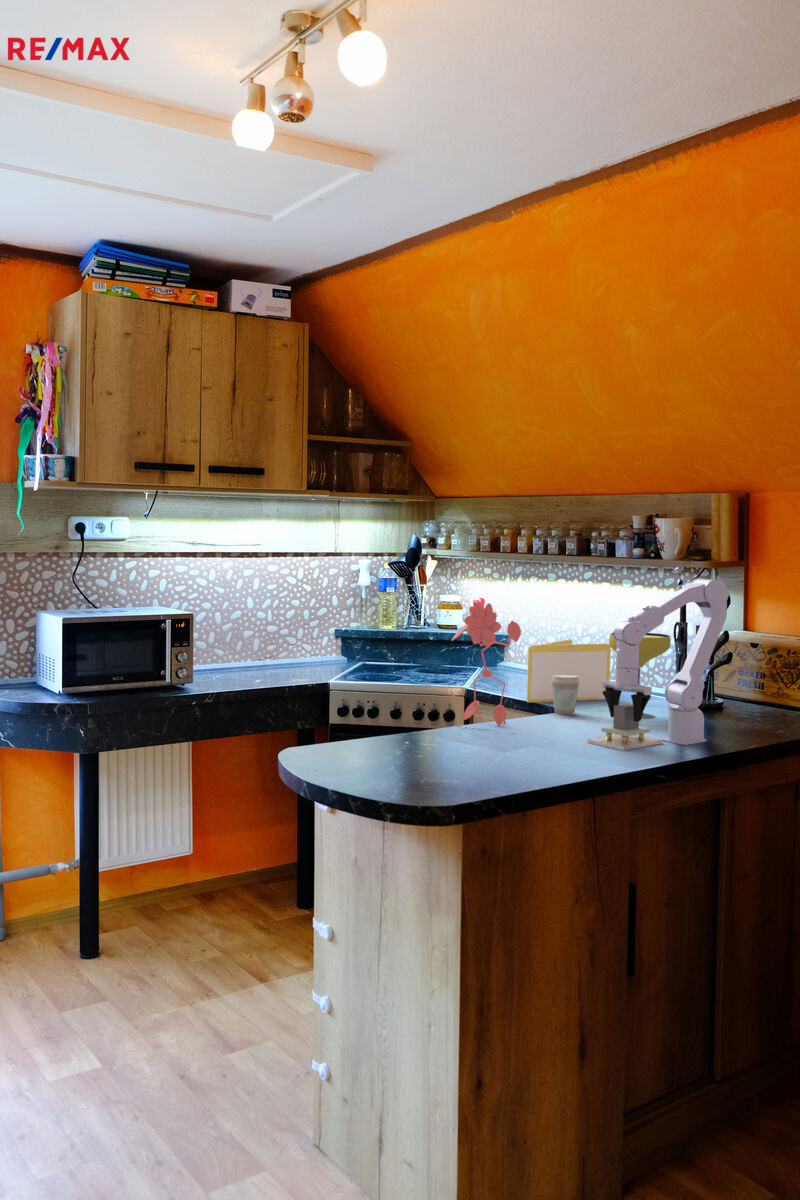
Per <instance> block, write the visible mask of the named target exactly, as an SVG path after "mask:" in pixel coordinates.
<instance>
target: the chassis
mask: <svg viewBox="0 0 800 1200" xmlns="http://www.w3.org/2000/svg"><path fill="white" fill-rule="evenodd" d="M605 733H606V735H605V736H604V735H603V736H599V737H592V738H587V739H586V740H587V741H586V743H587V744H592V745H597V746H600V747H604V748H610V749H615V750H617V751H618V750H619V751H623V752H624V751H629V750H635V749H641V748H646V747H650V746H657V745H662V744H664V741H663V740H661V739H662V738H661V739H660V738H654V737H650V736H647V735H646V736H645V733H642V734H637V735H631V736H622V735H617V734H612V733H607V732H605Z"/></svg>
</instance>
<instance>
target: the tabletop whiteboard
mask: <svg viewBox="0 0 800 1200" xmlns="http://www.w3.org/2000/svg"><path fill="white" fill-rule="evenodd" d="M611 649H612V648H611V647H610V644H609V643H574V644H573V640H572V639H571V638H569V639H568V638H567V639H563V640H558V641H552V642H545V643H541V644H531V645H529V646H528V648H527V674H526V676H527V677H526V680H527V681H526V702H527V703H547V702H548V703H549V702H554V698H553V686H552V682H551V681H552V678H553V675H557V674H568V675H576V676H578V679H579V682H580V683H579V684H578V691H577V699H576V701H592V700H606V699H605V697H604V695H603V691H605V689H604V688H602V686H603V681H611V680H610V679H611V678H610V677H611V676H610V675H611V655H612V653H611V651H612V650H611Z"/></svg>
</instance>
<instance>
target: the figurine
mask: <svg viewBox="0 0 800 1200" xmlns="http://www.w3.org/2000/svg"><path fill="white" fill-rule="evenodd" d="M493 608H494V607H493V606H492V604H491V603H490V602H488V603H487V604H486V605H485V607H484V606H483V605H482V604H481V603H480V602H476V603H475V606H474V605H472V606H470V607H469V609H468V611H469V613H470V615H468V616H466V617H465V618H464V620H463V621H464V625H463V626H462V627H461V628H460V629H459V630H458V631H457V632H456V633H455V634H454V636H453V637H452V638H451V640H450V641H451V642H453V641H454V640H456V639H458V638H459V637H460V636H461V635H462V634H463V633H464V632H465V631H466V635H468V636H471V641H472V643H473V644H474V645H478V644H479V646H480V647H483V646H485V647H484V648H483V649H481V651H480V652H481V657H482V658H481V659H482V661H483V665H484V669H482V671H481V674H480V675H478V676H477V677H475V678H474V680H473V690H474V691H473V696H474V699H473V702H471V703H470V704H469V705H468V706H467V707H466V709H465V711H464V713H463V716H462V717H463V718H462V719H463V720H464V721H467V720H469V719H470V718H471V717H472V716H473V715H474V714H476V712H477V715H478V718H479V720H480V719H482V716H481V713H480V709H479V706H480V702H479V700H476V696H477V695H476V680H477V679H478V678H479V679H480V678H481V677H482V676H483V678H485V679H488V678H490V677H491V678H493V679H494V680H496V681H498V682H499V683H501V684H503V687H502V693H501V697H500V703H499V704H497V705H496V706H495V707H494V709H493V711H492V716H493V717H492V719H493V720H494V722H495V723H496V725H497V726H498V727H500V726H501V725H502V724H506V723H507V722H506V717H507V710H506V707H505V706H504V705H503V703H502V702H503V698H504V692H505V689H506V688H505V687H506V683H505V682H503V681H502V680H500V679H498V678H496V677H495V676H492V671H491V669H489V668H488V667H487V666H486V660H485V656H484V651H486V650H488V648H489V647H492V645H495V644H498V645H502V646H506V647H510V646H511V642H512V640H513V641H514V642H515V643H517V642H518V641H519V640H520V637H521V635H522V629H521V627H520V624H518V623H517V622H516V621H514V620H511V621H510V622H509V623H508V625H507V627H506V632H507V635H508V638H509V639H508V643H504V642H499V641H496V638H497V637H496V636H497V635H496V634H495V633H497V632H499V631H500V629H501V628H502V625H501V623H500V622H497V615H498V614H497V613H496V611H495V612H494V610H493ZM451 725H452V726H455V727H457V728H462V726H459V725H456V724H454V723H453V724H451ZM464 727H465V728H464V729H467V727H466V726H464ZM470 728H471V730H475V728H474V727H473V728H472V727H470ZM478 730H479V731H490V729H488V728H487V729H486V728H483V729H482V728H478Z"/></svg>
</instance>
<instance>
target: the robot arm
mask: <svg viewBox="0 0 800 1200" xmlns="http://www.w3.org/2000/svg"><path fill="white" fill-rule="evenodd" d="M729 596H730V592H729V590H728V587H727V586H726V584H725V582H724V581H722V580H720V579H707V578H702V577H701V578H699V577H697V578H694V579H693V580H692V581H691V582H687V583H685V584H684V586H683V587H682V588H680V589H679V590H678V591H676V592H674V593H673V594H672V595H670V596H669V597H668V598H667V599H665V600H664V601H662V602H661V603H660V604H658V605H654V604H653V605H652V604H651V605H650V604H649V605H644V606H642V610H641V611H639V612H637V613H636V614H635V615H630V616H629V617H628V619H627V620H624V621H623V620H622V621H620V622H618V623H617V624H616V626H615V627H614V630H613V631H612V633H613V637H614V639H615V640H616V642H617V649H616V651H615V652H616V653H615V654H616V655H615V681H612V680H610V681H603V686H602V688H604V689H605V691H603V695H604V697H605V699H604V700H606V703H607V707H608V710H609V714H610V717H611V718H614V705H620V700H621V695H622V692H626V693H633V694H630V697H631V701H632V704H633V718H634V721H635V722H637V721H639V722H641V721H642V719H641V718H642V715H643V713H644V710H645V709H646V706H647V704H648V703H649V701H650V699H651V696H652V691H653V690H652V689H653V688H652V686H646V685H643V684H640V683H639V684H638V661H639V643H640V642H641V641H642V639H643V637H644V635H646V634H647V633H651V632H652V631H653V630H655V629H656V628H658V627H660V626H661V625H663V623H664V621H665V617H667V616H668V615H670V614H672V613H673V612H675V611H677V610H679V609H681V608H682V607H684V606H686V605H688V604H689V603H695V605H696V606H697V607H698V608H699V609H700V612H701V613H702V615H703V618H702V621H701V624H699V628H698V630H697V633H696V634H695V638H694V640H693V642H692V644H691V647H690V649H689V652H688V654H687V656H686V659H685V661H684V664H683V666H682V668H681V670H680V671H679V672H677V673H676V674H674V675H673V678H672V680H671V682H669V683H668V684H667V685H666V687H665V689H664V697H665V700H666V701H667V702H668V727H667V728H668V730H667V734H668V735H667V737H664V738H661V740H663V742H667V743H672V744H678V745H682V746H688V745H695V744H701V743H705V742H707V739H705V738H704V735H705V732H704V731H705V715H704V713H703V711H702V710H700V709H699V707H700V705H702V703H703V697H704V696H703V695H704V694H703V692H704V689H705V683H704V681H703V675H704V673H705V670H706V668H707V666H708V664H709V661H710V659H711V656H712V653H713V651H714V650H715V647H716V644H717V642H718V639H719V637H720V634H721V632H722V629H723V627H724V625H725V622H726V620H727V617H728V616H727V615H728V605H727V604H728V602H727V601H728V598H729Z"/></svg>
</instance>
